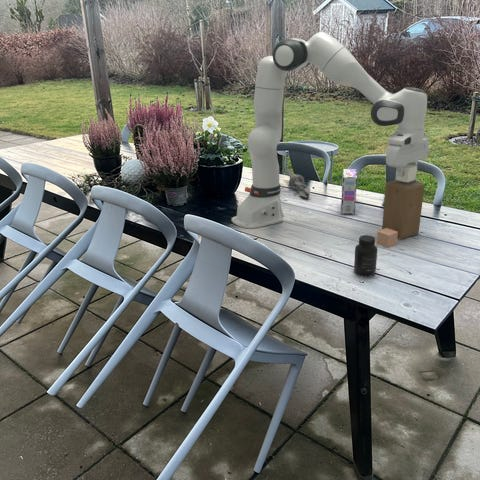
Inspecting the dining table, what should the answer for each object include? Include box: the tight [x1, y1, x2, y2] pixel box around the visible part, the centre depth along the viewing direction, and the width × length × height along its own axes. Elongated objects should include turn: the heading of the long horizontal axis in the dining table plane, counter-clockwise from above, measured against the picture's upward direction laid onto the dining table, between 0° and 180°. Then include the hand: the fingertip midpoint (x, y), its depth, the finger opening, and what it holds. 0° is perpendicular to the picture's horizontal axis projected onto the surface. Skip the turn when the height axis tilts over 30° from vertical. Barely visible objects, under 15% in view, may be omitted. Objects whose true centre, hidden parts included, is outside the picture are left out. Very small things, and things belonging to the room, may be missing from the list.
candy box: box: [340, 168, 358, 215], centre depth 201 cm, size 14×6×16 cm, turn 168°
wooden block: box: [381, 179, 425, 240], centre depth 174 cm, size 10×10×20 cm
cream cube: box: [394, 163, 418, 183], centre depth 169 cm, size 5×5×5 cm
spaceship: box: [285, 168, 311, 199], centre depth 231 cm, size 8×35×8 cm
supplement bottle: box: [353, 234, 378, 277], centre depth 148 cm, size 7×7×12 cm
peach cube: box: [375, 228, 398, 249], centre depth 168 cm, size 5×5×5 cm
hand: (405, 174), depth 169 cm, fingers closed on cream cube, 5 cm apart
